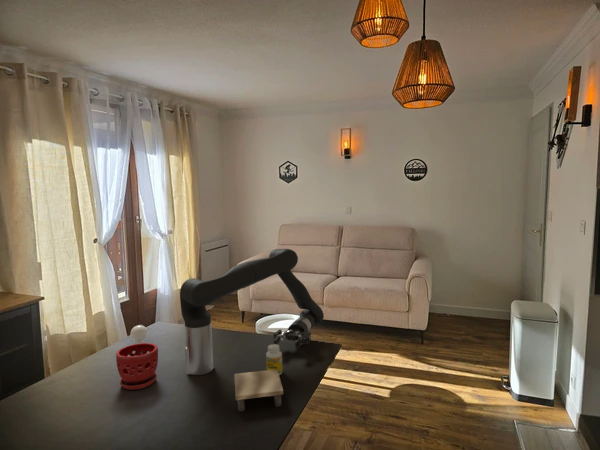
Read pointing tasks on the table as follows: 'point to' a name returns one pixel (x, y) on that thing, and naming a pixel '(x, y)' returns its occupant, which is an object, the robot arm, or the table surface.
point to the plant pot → (137, 365)
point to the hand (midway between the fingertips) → (285, 344)
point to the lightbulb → (139, 334)
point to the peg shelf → (257, 386)
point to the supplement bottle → (274, 358)
